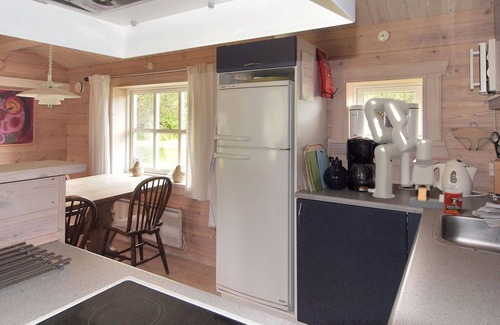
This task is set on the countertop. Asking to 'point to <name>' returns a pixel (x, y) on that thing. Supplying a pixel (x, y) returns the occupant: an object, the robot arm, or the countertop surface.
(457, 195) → the canned food
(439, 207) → the power strip
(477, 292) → the countertop surface
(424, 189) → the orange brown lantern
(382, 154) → the robot arm
